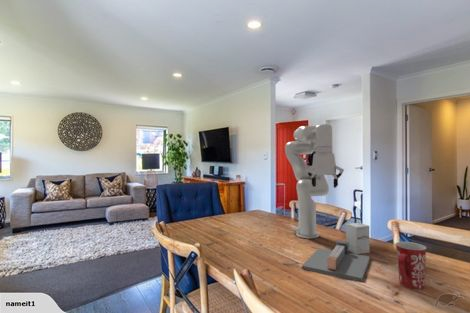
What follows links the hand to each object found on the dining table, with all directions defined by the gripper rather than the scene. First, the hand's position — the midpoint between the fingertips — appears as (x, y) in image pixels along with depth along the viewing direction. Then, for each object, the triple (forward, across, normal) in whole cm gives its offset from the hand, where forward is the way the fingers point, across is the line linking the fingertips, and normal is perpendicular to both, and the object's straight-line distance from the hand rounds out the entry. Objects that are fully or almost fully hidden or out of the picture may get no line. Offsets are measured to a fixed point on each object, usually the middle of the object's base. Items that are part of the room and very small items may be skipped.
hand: (324, 186), depth 127 cm
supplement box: (+31, +13, +7) cm, 34 cm away
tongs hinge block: (+29, +8, -2) cm, 30 cm away
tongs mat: (+30, +8, -13) cm, 34 cm away
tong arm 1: (+29, +7, -14) cm, 33 cm away
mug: (+31, +33, -20) cm, 49 cm away
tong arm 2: (+29, +9, -14) cm, 33 cm away
